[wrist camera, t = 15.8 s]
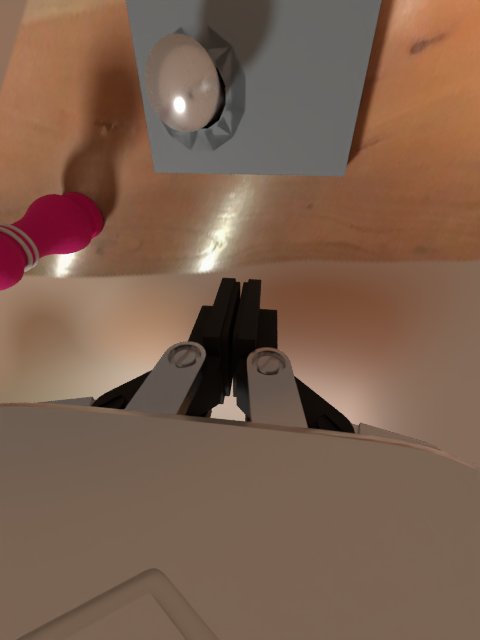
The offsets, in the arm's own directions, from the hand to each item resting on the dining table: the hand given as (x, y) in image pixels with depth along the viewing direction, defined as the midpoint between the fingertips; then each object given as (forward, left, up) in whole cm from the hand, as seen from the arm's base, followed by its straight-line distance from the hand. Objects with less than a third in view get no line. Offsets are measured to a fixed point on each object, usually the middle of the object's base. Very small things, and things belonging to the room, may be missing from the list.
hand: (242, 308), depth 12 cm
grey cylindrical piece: (+7, -9, -27) cm, 29 cm away
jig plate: (+2, -9, -27) cm, 29 cm away
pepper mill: (+26, +4, -27) cm, 38 cm away
